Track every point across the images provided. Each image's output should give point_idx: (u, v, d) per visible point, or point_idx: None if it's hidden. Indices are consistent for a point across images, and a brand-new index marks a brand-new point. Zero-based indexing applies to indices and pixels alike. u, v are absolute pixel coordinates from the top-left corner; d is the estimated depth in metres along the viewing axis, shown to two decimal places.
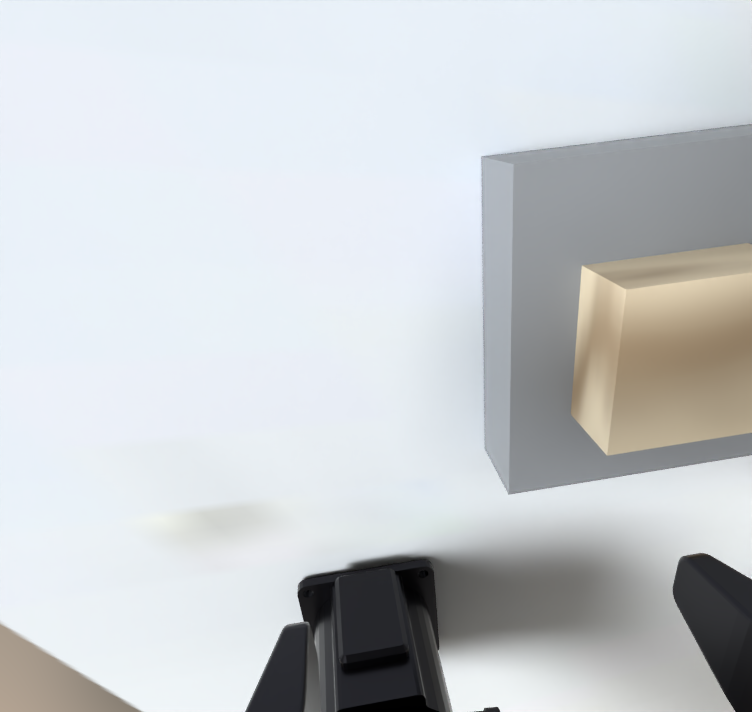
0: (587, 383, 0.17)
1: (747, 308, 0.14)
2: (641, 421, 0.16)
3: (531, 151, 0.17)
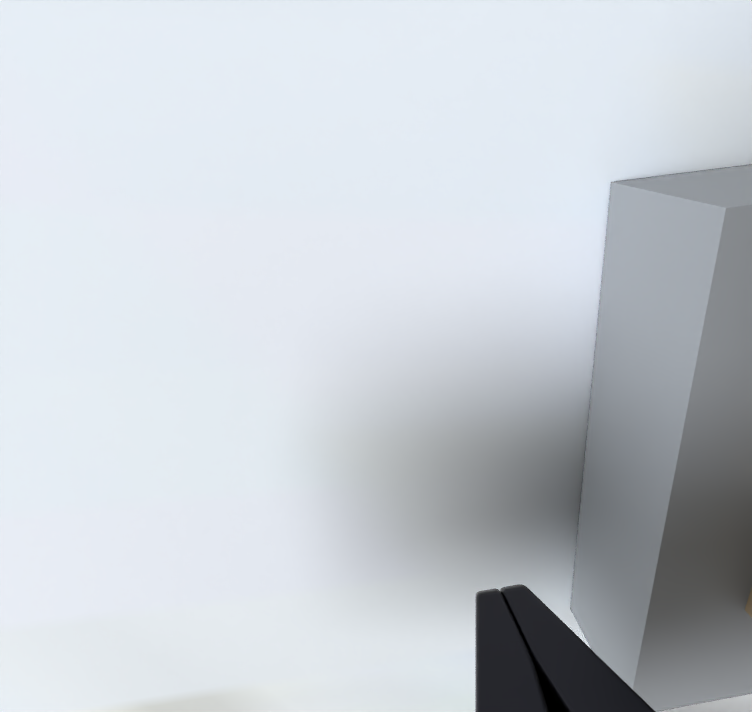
0: None
1: None
2: None
3: (701, 173, 0.10)
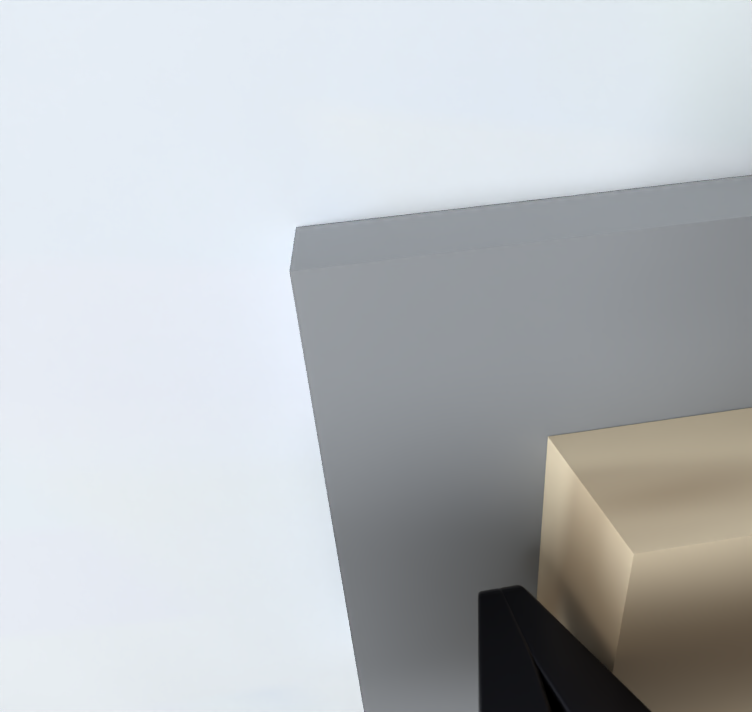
0: None
1: None
2: None
3: (384, 219, 0.09)
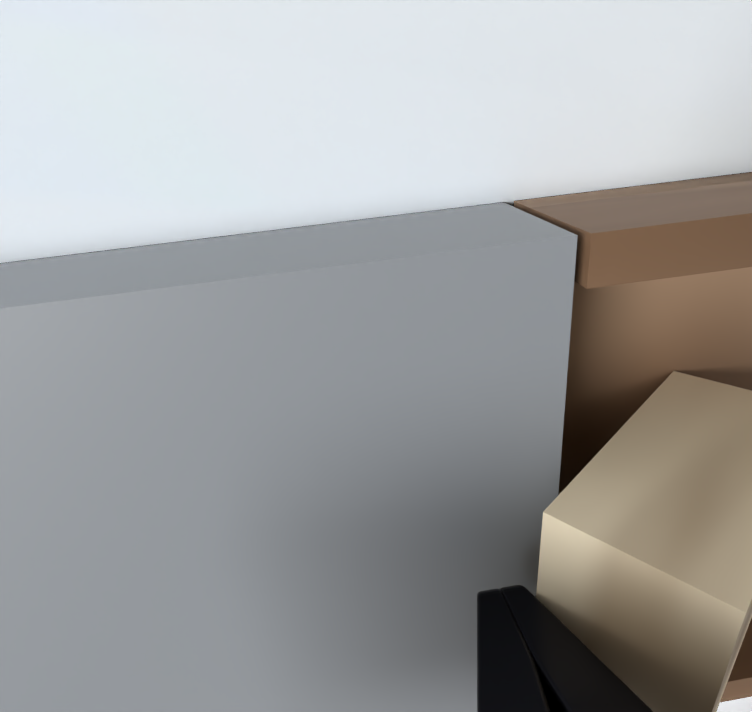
0: None
1: None
2: None
3: None
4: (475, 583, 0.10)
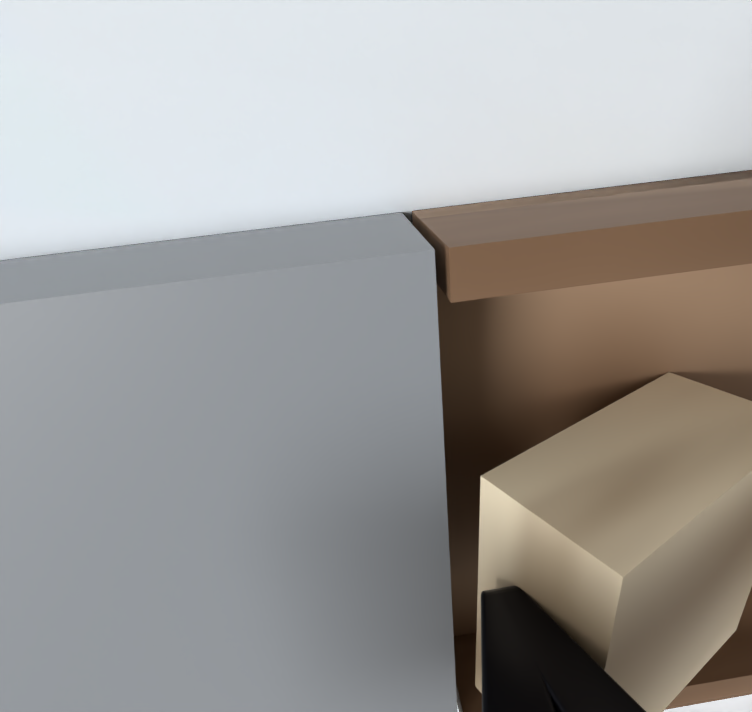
0: None
1: (745, 513, 0.09)
2: None
3: None
4: (372, 595, 0.10)
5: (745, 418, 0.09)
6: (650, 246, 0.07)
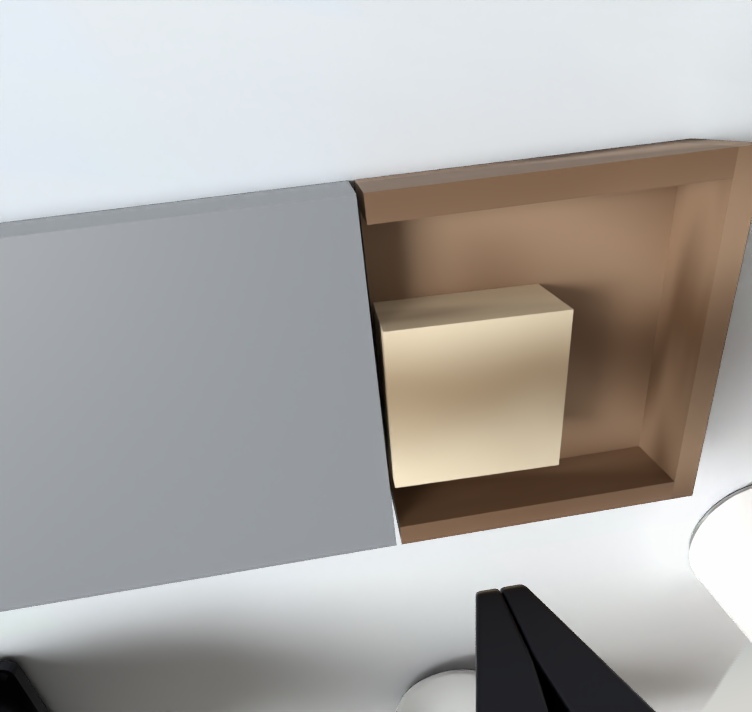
0: (385, 416, 0.17)
1: (511, 351, 0.15)
2: (424, 456, 0.16)
3: None
4: (331, 419, 0.15)
5: (540, 303, 0.15)
6: (477, 193, 0.13)
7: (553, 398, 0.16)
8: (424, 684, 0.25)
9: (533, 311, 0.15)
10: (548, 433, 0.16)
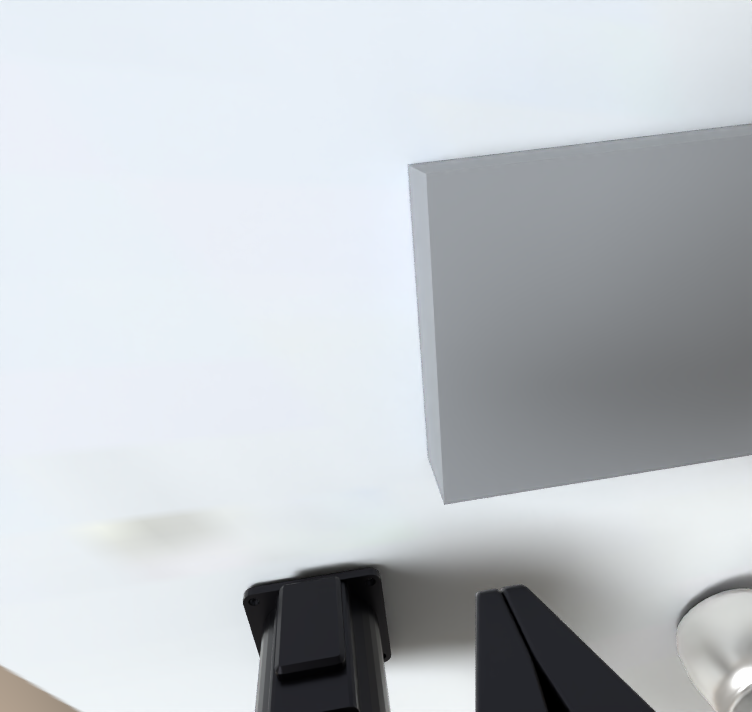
0: None
1: None
2: None
3: (457, 159, 0.17)
4: None
5: None
6: None
7: None
8: (715, 600, 0.27)
9: None
10: None
